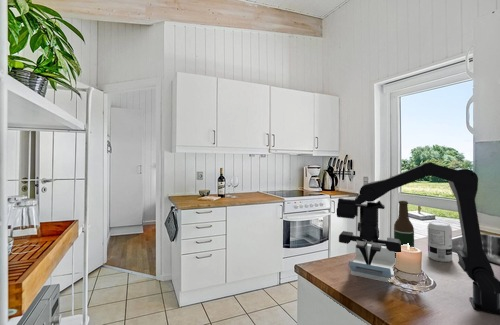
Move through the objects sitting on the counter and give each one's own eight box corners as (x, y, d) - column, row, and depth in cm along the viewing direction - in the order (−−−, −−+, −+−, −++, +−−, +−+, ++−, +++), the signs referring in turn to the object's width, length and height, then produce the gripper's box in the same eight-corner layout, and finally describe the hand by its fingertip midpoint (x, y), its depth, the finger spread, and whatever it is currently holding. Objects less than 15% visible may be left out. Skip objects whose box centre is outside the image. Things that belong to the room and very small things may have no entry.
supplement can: (424, 254, 111) (423, 221, 111) (444, 255, 110) (443, 221, 110) (435, 262, 103) (434, 225, 103) (457, 263, 102) (456, 226, 102)
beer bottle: (416, 254, 112) (415, 200, 112) (412, 259, 106) (411, 203, 106) (396, 250, 117) (395, 199, 117) (392, 255, 111) (391, 201, 111)
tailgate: (391, 281, 85) (390, 275, 79) (351, 273, 91) (348, 267, 86) (391, 275, 86) (390, 268, 80) (352, 267, 92) (348, 261, 87)
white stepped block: (393, 283, 86) (393, 260, 86) (350, 274, 93) (350, 253, 93) (395, 268, 98) (394, 248, 98) (356, 261, 105) (356, 242, 105)
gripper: (401, 219, 87) (400, 263, 87) (344, 212, 97) (344, 252, 97) (400, 226, 78) (400, 276, 78) (338, 218, 87) (338, 263, 88)
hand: (368, 265), depth 85 cm, fingers closed, pressing on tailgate
